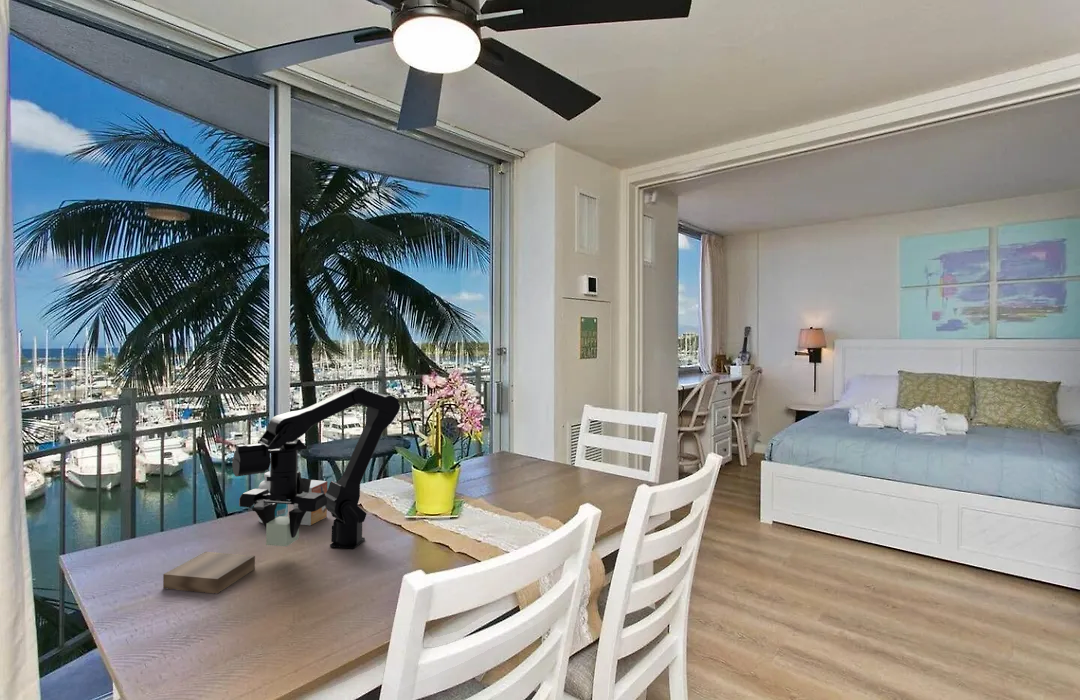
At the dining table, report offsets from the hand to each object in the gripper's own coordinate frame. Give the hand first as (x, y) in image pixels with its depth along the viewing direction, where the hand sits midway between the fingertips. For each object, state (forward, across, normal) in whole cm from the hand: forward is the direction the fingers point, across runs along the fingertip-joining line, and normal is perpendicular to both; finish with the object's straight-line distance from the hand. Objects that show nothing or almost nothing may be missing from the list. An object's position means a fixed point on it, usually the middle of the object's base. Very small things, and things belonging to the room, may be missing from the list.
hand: (282, 536), depth 130 cm
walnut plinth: (+6, +9, +12) cm, 16 cm away
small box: (+6, +8, -26) cm, 28 cm away
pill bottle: (+6, +18, -24) cm, 31 cm away
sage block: (+1, 0, 0) cm, 1 cm away
